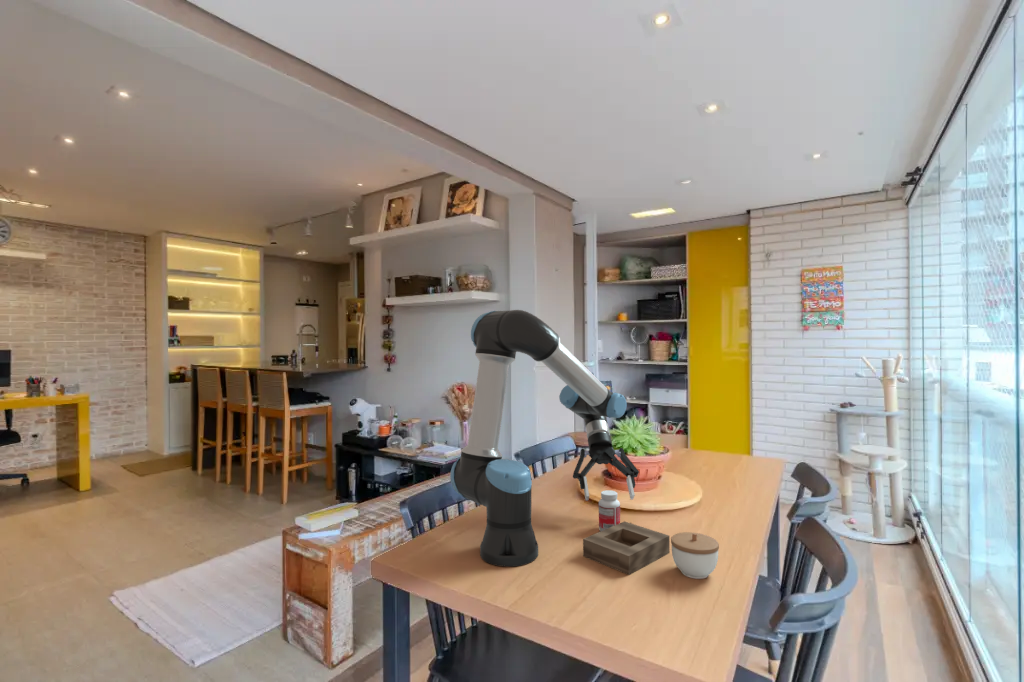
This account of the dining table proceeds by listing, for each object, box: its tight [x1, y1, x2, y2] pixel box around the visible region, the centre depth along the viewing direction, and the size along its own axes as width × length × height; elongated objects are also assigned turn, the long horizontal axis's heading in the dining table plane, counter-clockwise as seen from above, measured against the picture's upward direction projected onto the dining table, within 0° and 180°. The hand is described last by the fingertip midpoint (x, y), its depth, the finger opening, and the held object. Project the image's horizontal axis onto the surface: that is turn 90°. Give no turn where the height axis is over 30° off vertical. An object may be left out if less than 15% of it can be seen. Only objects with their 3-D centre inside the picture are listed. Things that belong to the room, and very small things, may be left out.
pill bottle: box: [598, 489, 621, 532], centre depth 147 cm, size 6×6×11 cm
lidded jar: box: [670, 531, 720, 580], centre depth 121 cm, size 11×11×9 cm
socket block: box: [582, 520, 671, 576], centre depth 131 cm, size 18×14×4 cm
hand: (610, 498), depth 151 cm, fingers open, 13 cm apart
